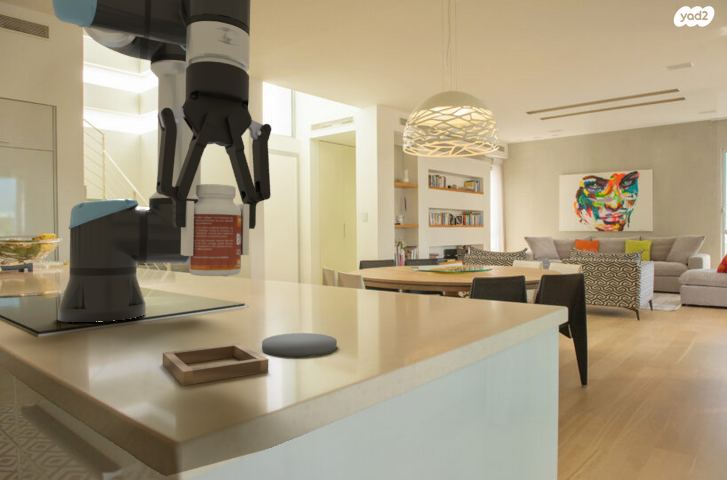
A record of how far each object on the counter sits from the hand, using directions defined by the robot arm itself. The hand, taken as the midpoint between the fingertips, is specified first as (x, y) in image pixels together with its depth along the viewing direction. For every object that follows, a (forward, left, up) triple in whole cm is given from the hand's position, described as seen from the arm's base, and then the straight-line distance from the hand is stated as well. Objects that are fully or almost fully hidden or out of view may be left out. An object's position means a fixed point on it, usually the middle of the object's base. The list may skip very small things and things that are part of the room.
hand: (215, 254), depth 58 cm
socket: (0, 0, -14) cm, 14 cm away
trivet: (-4, +14, -14) cm, 20 cm away
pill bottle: (0, 0, -3) cm, 3 cm away
